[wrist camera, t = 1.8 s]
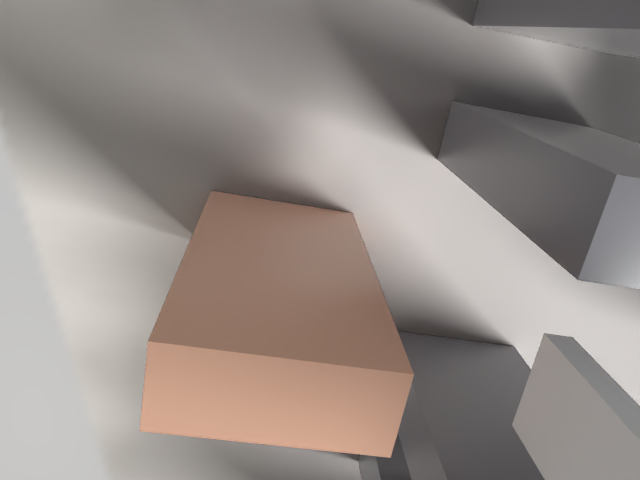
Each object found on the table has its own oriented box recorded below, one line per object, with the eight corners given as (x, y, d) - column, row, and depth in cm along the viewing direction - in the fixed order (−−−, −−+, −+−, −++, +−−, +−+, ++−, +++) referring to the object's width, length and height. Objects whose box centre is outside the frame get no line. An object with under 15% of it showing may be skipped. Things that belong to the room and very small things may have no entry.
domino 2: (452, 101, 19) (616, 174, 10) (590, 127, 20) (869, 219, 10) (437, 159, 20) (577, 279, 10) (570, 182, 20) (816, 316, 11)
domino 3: (392, 330, 22) (474, 554, 13) (514, 346, 23) (677, 572, 13) (381, 374, 23) (451, 617, 13) (499, 388, 23) (645, 631, 14)
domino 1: (210, 190, 20) (148, 341, 10) (352, 213, 20) (414, 374, 11) (204, 244, 20) (139, 431, 11) (341, 264, 21) (390, 458, 12)
